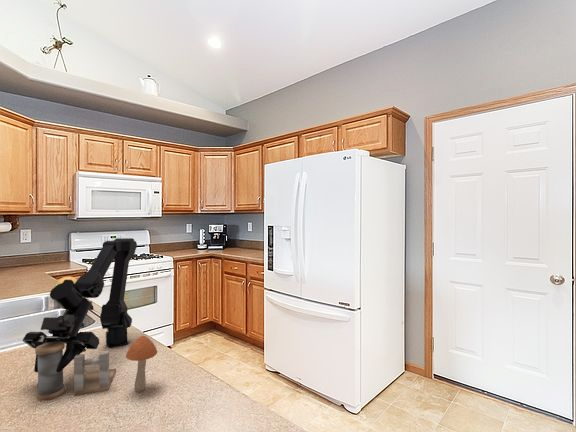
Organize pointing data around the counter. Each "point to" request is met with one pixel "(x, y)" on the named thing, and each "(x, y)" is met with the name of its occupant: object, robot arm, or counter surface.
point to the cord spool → (49, 370)
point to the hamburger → (66, 279)
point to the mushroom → (141, 358)
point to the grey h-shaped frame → (92, 374)
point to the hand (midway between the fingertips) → (46, 371)
